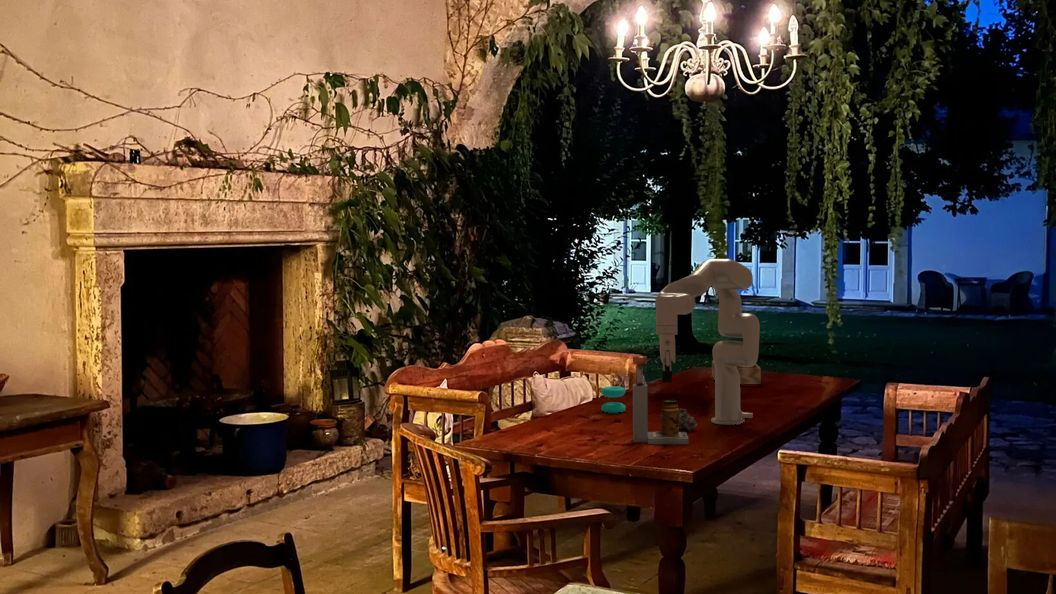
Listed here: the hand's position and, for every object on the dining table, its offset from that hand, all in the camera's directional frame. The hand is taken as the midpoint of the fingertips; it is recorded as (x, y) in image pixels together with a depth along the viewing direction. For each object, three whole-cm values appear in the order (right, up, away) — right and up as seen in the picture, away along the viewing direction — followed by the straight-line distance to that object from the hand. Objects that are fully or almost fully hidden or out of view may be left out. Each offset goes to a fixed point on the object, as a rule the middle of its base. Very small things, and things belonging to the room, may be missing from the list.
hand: (667, 381), depth 370 cm
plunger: (-9, -4, +1) cm, 10 cm away
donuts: (-14, -18, +63) cm, 66 cm away
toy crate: (+52, -12, +138) cm, 148 cm away
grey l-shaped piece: (-2, -21, +2) cm, 21 cm away
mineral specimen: (+8, -20, +22) cm, 31 cm away
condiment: (0, -19, +2) cm, 19 cm away
